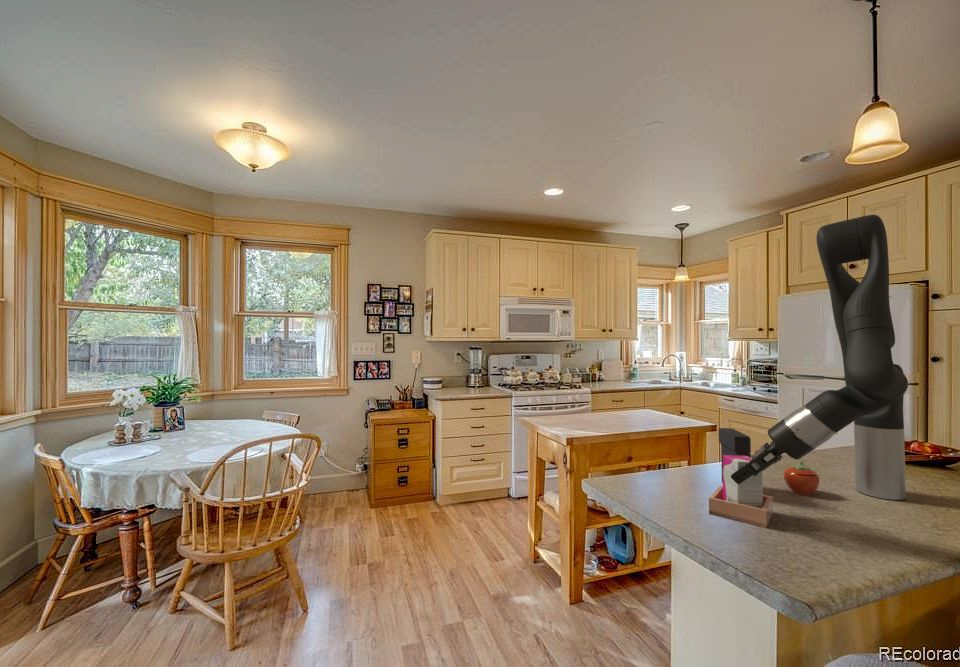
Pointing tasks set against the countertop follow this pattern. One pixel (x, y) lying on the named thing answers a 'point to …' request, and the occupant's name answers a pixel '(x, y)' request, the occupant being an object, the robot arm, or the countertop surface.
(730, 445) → the calculator
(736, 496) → the supplement box
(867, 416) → the robot arm
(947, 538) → the countertop surface
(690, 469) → the countertop surface
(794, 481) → the tomato
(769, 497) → the dish
